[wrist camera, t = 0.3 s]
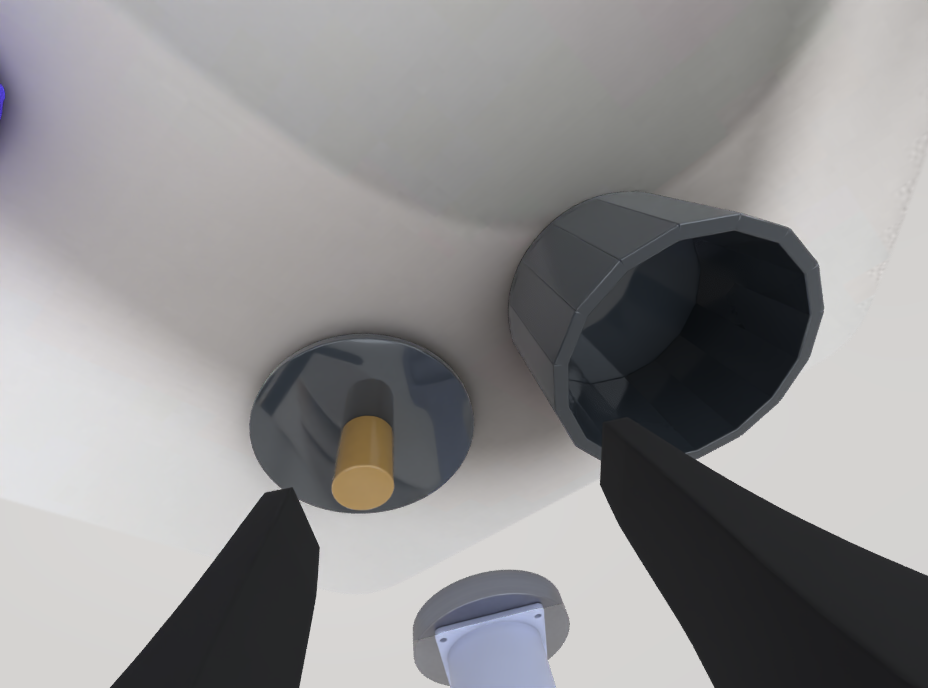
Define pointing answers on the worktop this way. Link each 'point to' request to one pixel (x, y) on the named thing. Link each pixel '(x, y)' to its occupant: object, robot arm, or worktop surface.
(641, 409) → the pot
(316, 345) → the lid
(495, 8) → the worktop surface
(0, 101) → the bottle
